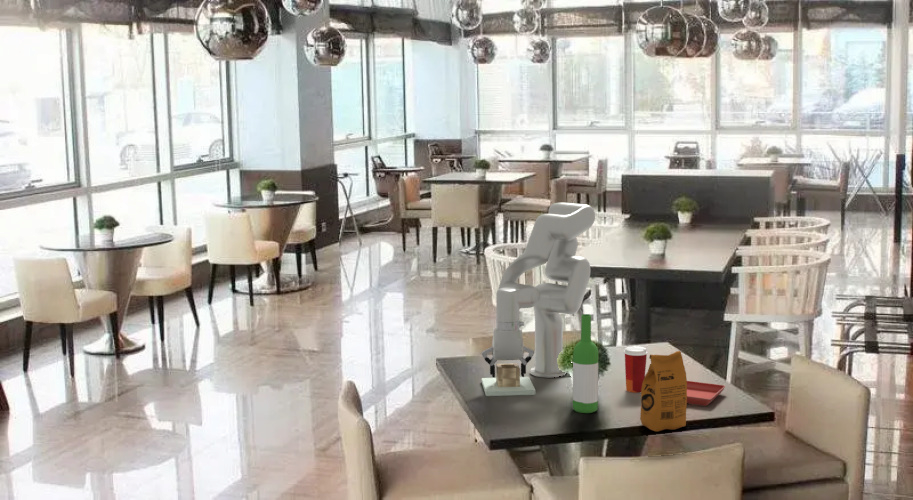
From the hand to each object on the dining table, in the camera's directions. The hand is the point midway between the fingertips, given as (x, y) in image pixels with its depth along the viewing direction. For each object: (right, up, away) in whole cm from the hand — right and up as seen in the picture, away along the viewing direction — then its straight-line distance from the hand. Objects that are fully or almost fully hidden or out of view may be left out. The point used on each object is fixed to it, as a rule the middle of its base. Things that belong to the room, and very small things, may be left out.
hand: (507, 376), depth 369 cm
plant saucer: (+58, -6, -11) cm, 59 cm away
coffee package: (+44, -10, -39) cm, 60 cm away
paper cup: (+41, -5, -3) cm, 42 cm away
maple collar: (0, -3, 0) cm, 3 cm away
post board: (0, -4, +1) cm, 4 cm away
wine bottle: (+23, -8, -24) cm, 34 cm away
